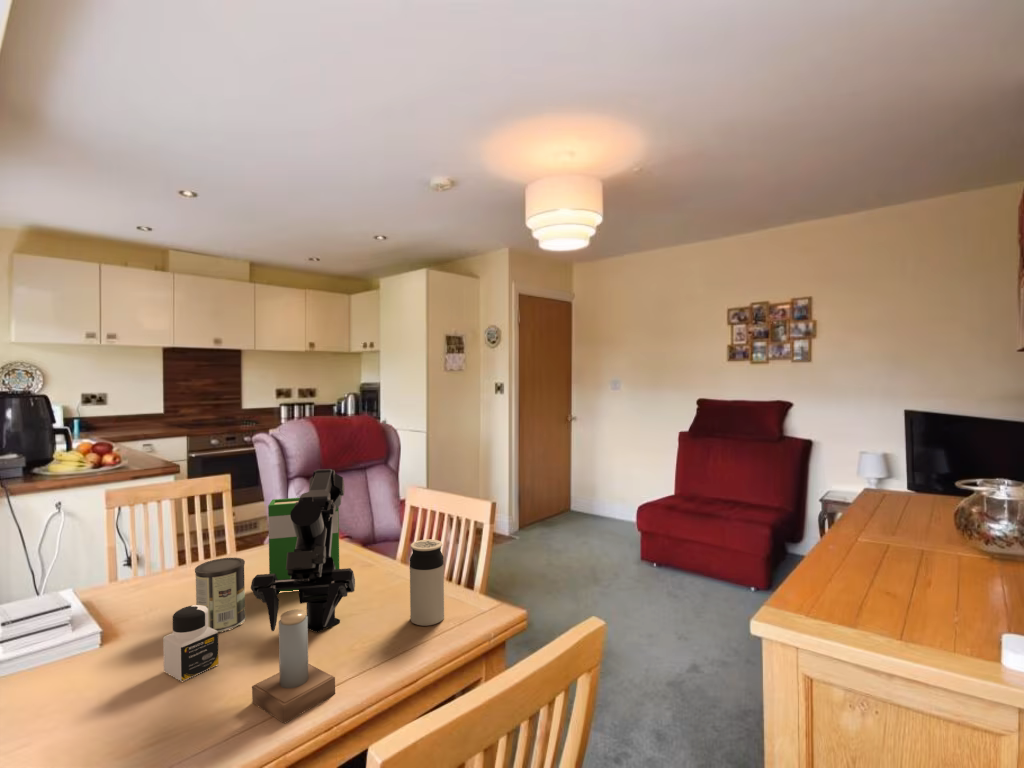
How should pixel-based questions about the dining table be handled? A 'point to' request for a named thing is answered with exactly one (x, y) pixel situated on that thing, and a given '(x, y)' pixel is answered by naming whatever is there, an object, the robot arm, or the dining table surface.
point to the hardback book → (290, 537)
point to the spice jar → (293, 648)
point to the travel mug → (426, 582)
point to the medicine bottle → (190, 644)
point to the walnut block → (293, 694)
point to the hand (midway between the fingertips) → (298, 628)
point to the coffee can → (222, 592)
